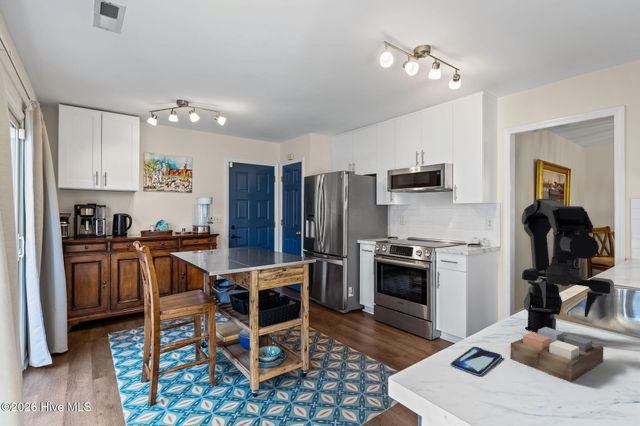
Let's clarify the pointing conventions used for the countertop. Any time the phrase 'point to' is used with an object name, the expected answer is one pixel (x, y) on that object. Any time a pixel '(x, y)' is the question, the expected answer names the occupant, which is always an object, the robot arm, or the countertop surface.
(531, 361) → the wooden sorting tray
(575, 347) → the key
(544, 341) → the peach block
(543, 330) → the key
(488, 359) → the smartphone
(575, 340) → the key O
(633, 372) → the countertop surface
